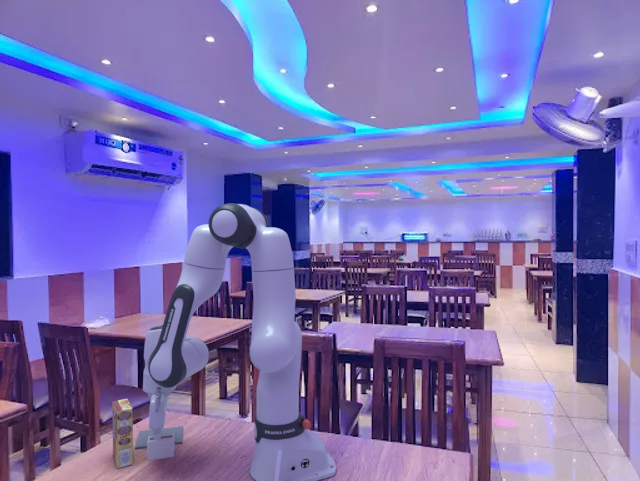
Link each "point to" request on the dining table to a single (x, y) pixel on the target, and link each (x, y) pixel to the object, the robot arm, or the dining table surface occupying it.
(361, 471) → the dining table surface
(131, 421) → the candy box
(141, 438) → the mat
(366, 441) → the dining table surface
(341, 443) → the dining table surface
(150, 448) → the block
